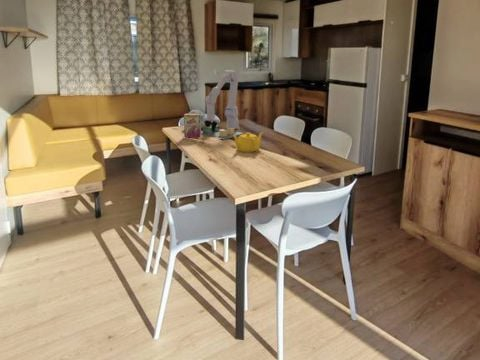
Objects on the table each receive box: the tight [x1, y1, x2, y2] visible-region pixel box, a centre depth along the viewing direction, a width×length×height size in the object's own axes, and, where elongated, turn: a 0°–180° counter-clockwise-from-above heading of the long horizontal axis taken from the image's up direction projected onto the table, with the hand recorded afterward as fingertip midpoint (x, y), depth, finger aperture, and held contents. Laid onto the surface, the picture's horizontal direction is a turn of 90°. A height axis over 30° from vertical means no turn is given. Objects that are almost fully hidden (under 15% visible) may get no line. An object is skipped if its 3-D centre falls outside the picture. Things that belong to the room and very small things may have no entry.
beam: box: [202, 124, 220, 134], centre depth 285 cm, size 14×4×4 cm, turn 142°
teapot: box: [233, 132, 264, 153], centre depth 239 cm, size 22×16×11 cm
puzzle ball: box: [187, 109, 206, 129], centre depth 298 cm, size 15×15×15 cm
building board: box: [201, 127, 245, 141], centre depth 281 cm, size 24×26×5 cm
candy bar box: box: [183, 113, 202, 139], centre depth 271 cm, size 11×5×16 cm, turn 84°
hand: (211, 131), depth 286 cm, fingers closed on beam, 4 cm apart
